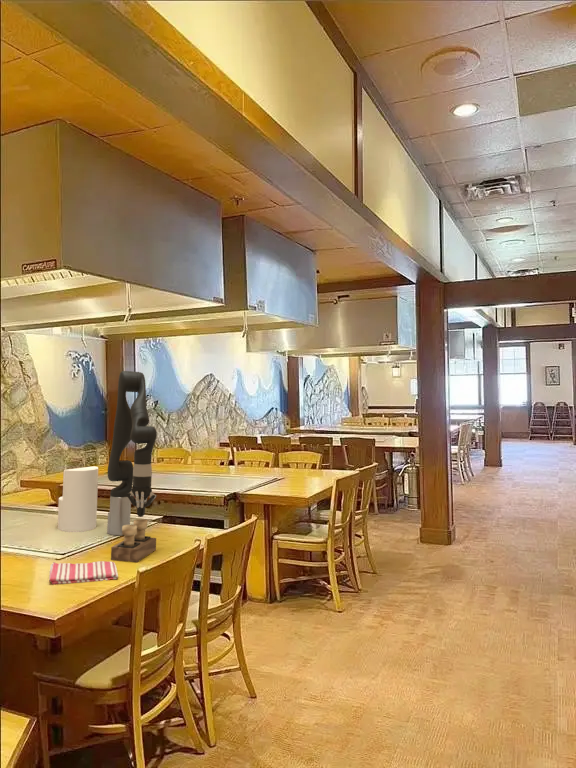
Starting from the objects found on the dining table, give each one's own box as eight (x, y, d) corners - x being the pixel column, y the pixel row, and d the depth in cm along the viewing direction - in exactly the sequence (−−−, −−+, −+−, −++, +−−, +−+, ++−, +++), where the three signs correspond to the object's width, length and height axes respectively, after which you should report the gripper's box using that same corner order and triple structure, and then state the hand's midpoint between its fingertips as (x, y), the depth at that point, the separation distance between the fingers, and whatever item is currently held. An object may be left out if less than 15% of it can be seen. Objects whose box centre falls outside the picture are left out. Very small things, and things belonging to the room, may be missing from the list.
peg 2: (130, 542, 246) (131, 521, 246) (136, 539, 252) (137, 518, 252) (143, 544, 245) (144, 522, 245) (148, 540, 251) (149, 519, 251)
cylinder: (104, 526, 287) (106, 468, 286) (73, 533, 272) (75, 472, 272) (80, 521, 296) (82, 464, 296) (49, 527, 281) (51, 467, 281)
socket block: (110, 559, 236) (111, 545, 236) (131, 547, 253) (131, 534, 253) (137, 562, 234) (137, 548, 234) (155, 549, 251) (156, 536, 251)
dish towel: (49, 571, 221) (50, 561, 221) (115, 566, 229) (115, 557, 229) (48, 586, 205) (49, 576, 205) (119, 581, 213) (119, 571, 213)
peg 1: (119, 549, 236) (119, 527, 236) (125, 545, 242) (126, 524, 242) (132, 550, 235) (133, 528, 235) (138, 546, 241) (139, 525, 241)
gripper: (123, 474, 246) (121, 517, 246) (153, 476, 243) (152, 519, 243) (131, 472, 253) (130, 513, 253) (160, 474, 251) (159, 515, 251)
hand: (140, 516), depth 248 cm, fingers closed
